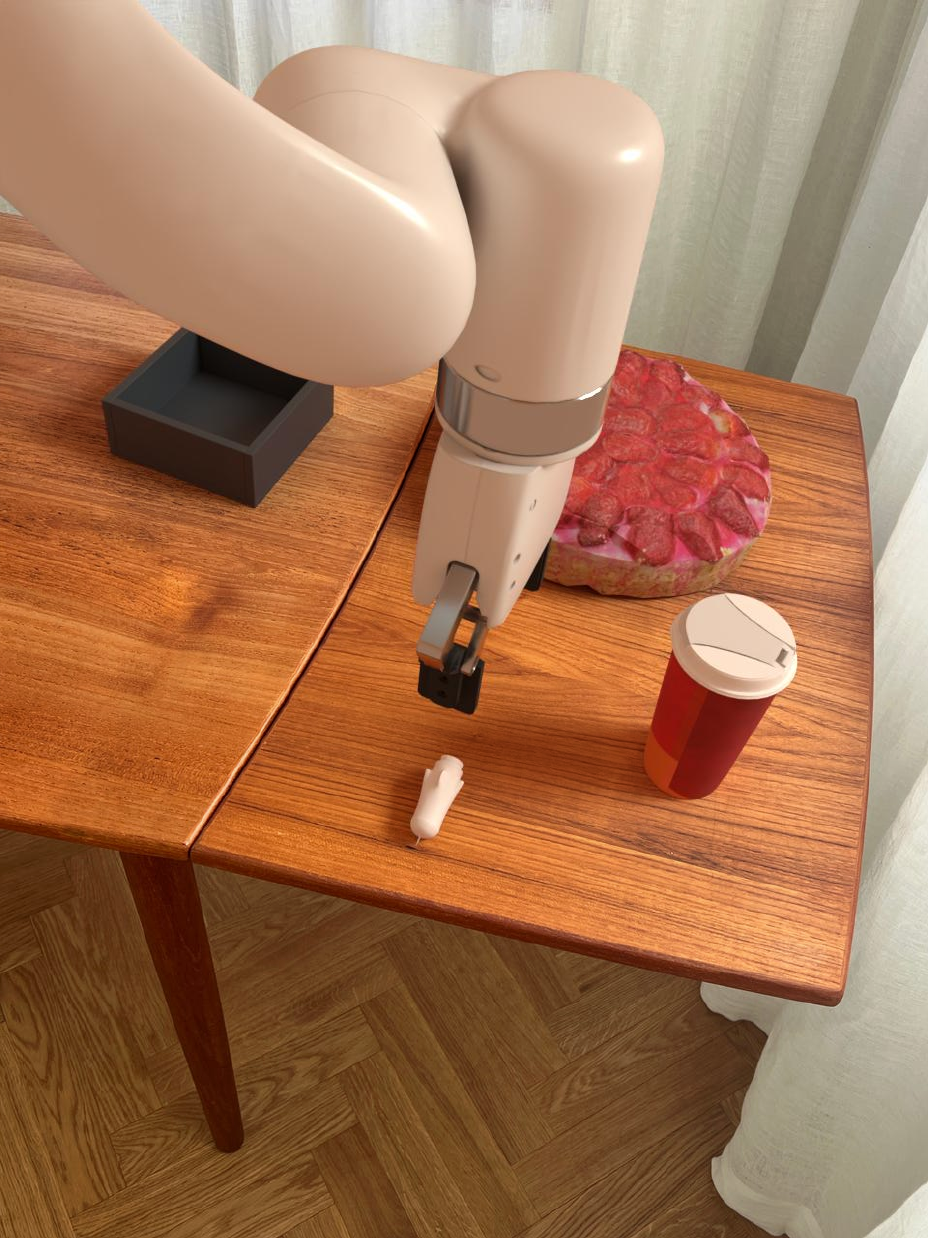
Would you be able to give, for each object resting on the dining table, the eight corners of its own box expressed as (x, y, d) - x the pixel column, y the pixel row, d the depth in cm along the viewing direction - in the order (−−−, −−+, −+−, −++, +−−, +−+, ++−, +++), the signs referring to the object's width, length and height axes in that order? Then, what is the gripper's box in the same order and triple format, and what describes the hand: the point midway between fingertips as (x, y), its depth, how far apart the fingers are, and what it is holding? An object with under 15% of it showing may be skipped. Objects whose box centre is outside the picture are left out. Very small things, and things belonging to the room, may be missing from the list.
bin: (110, 453, 92) (100, 399, 88) (199, 367, 100) (194, 314, 96) (255, 508, 89) (252, 455, 85) (333, 415, 98) (334, 363, 94)
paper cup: (754, 755, 78) (822, 624, 67) (710, 833, 73) (776, 707, 63) (655, 701, 80) (705, 567, 70) (606, 774, 76) (652, 642, 65)
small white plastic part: (379, 818, 72) (381, 792, 69) (446, 767, 75) (450, 740, 72) (417, 855, 70) (420, 830, 68) (483, 802, 73) (489, 776, 71)
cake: (506, 365, 103) (520, 294, 97) (768, 442, 101) (800, 374, 95) (426, 555, 88) (436, 485, 82) (732, 649, 86) (767, 585, 80)
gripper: (514, 266, 54) (478, 519, 67) (356, 473, 43) (349, 728, 56) (660, 311, 53) (595, 561, 66) (534, 537, 42) (486, 784, 55)
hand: (482, 638), depth 61 cm, fingers open, 9 cm apart
